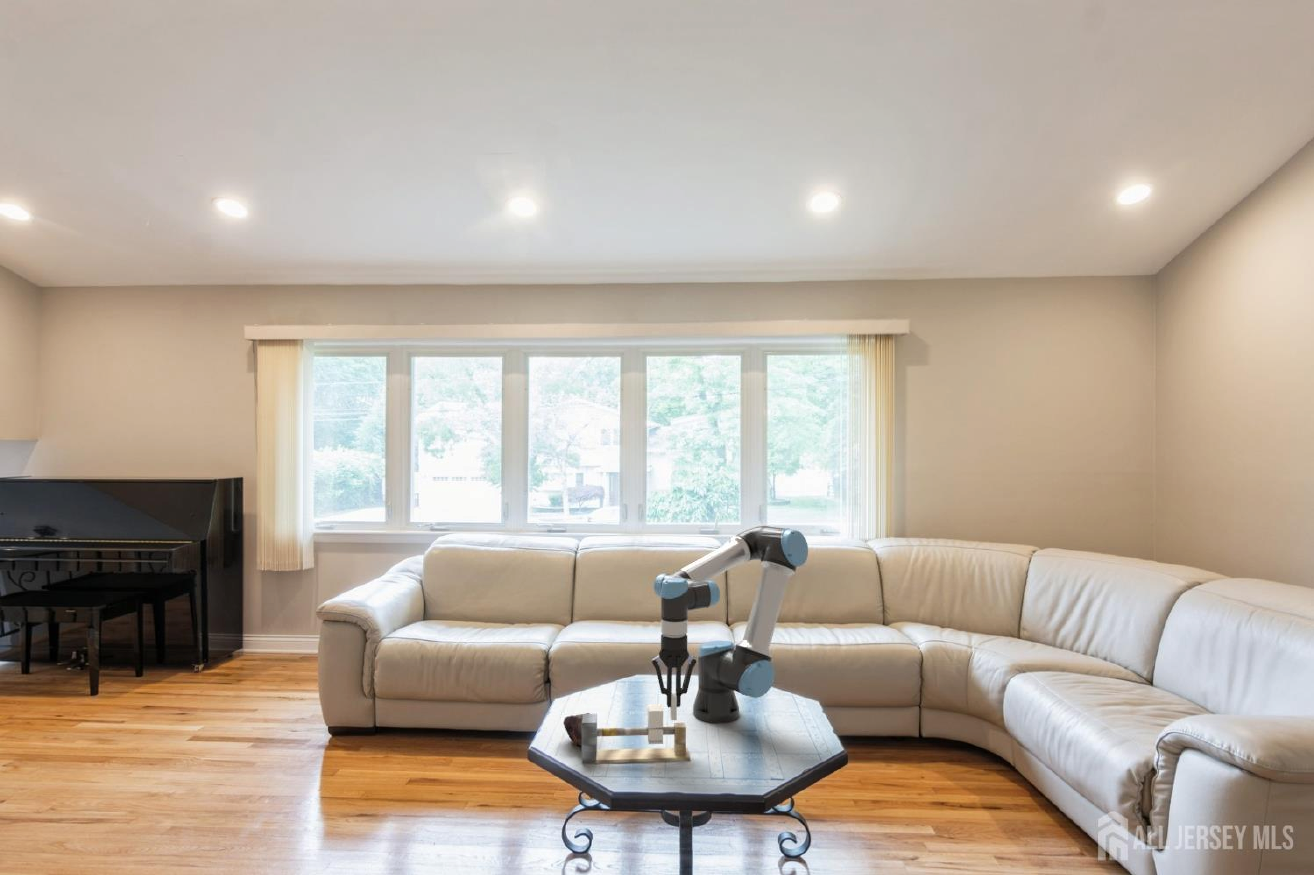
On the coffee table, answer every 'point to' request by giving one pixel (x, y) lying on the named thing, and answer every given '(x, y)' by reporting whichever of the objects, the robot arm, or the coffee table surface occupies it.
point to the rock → (574, 728)
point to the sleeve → (655, 723)
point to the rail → (630, 755)
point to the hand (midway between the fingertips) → (673, 718)
